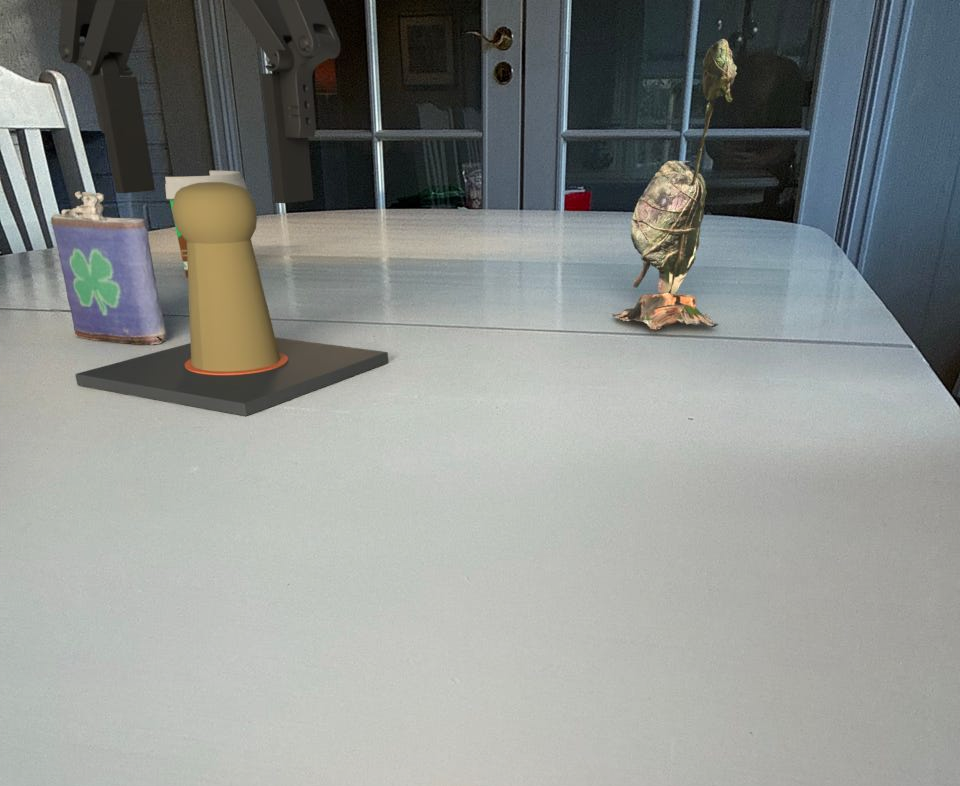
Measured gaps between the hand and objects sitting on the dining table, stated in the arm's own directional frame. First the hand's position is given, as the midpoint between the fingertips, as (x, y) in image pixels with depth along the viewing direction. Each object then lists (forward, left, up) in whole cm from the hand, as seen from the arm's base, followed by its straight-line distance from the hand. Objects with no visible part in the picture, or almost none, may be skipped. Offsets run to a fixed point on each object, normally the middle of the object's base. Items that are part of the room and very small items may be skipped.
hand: (211, 197), depth 57 cm
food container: (-34, +35, -11) cm, 50 cm away
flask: (-16, +4, -11) cm, 20 cm away
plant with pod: (+20, +30, -11) cm, 38 cm away
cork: (0, 0, -10) cm, 10 cm away
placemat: (0, 0, -11) cm, 11 cm away
